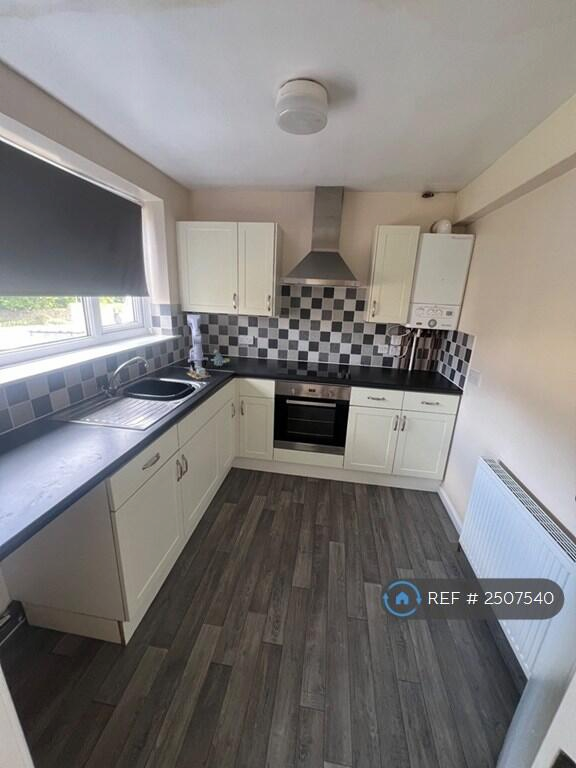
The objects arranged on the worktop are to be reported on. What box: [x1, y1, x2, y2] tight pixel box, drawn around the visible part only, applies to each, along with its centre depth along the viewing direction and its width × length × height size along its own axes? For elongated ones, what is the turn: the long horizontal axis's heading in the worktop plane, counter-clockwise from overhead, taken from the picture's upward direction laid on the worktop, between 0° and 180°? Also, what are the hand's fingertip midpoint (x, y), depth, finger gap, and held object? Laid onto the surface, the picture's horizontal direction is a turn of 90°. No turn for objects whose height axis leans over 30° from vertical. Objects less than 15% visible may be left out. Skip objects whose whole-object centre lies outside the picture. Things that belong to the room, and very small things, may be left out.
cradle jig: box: [186, 369, 212, 380], centre depth 225 cm, size 18×11×3 cm, turn 40°
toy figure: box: [210, 349, 230, 367], centre depth 255 cm, size 17×10×15 cm, turn 62°
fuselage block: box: [193, 366, 206, 376], centre depth 224 cm, size 11×5×5 cm, turn 40°
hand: (198, 370), depth 224 cm, fingers open, 7 cm apart
